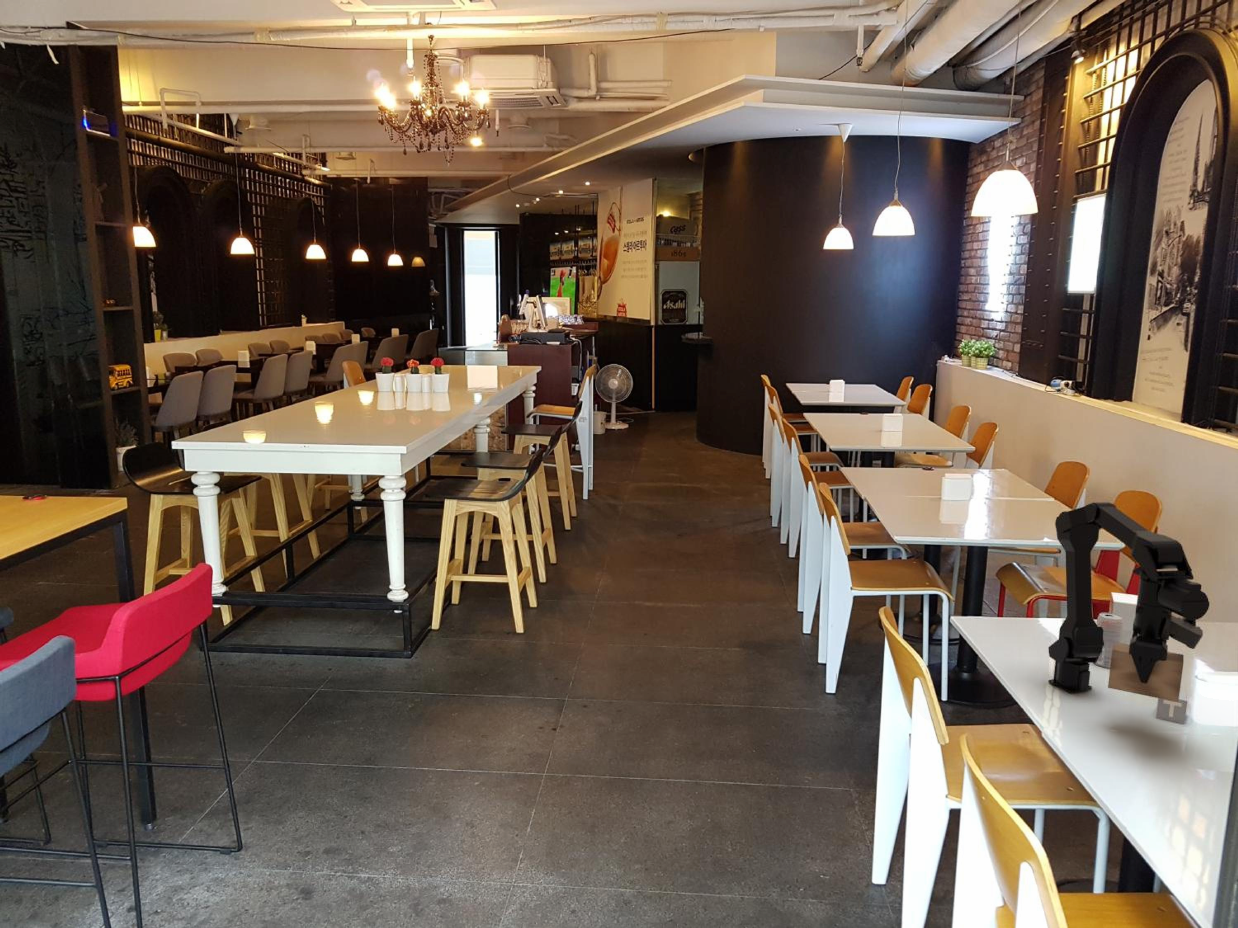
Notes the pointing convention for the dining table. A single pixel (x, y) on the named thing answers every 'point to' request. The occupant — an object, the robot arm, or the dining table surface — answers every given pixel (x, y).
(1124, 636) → the small box
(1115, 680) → the brown wooden block
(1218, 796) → the dining table surface
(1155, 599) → the robot arm
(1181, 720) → the letter cube
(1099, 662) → the energy drink
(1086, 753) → the dining table surface
